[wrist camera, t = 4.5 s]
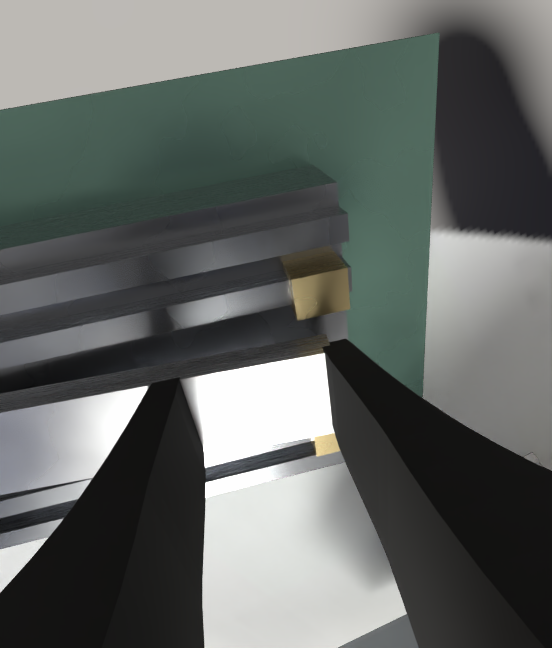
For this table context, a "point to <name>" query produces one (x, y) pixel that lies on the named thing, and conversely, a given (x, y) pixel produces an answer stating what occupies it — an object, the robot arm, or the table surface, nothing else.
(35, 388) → the grey flat bar
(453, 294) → the table surface
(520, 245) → the table surface
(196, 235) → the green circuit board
